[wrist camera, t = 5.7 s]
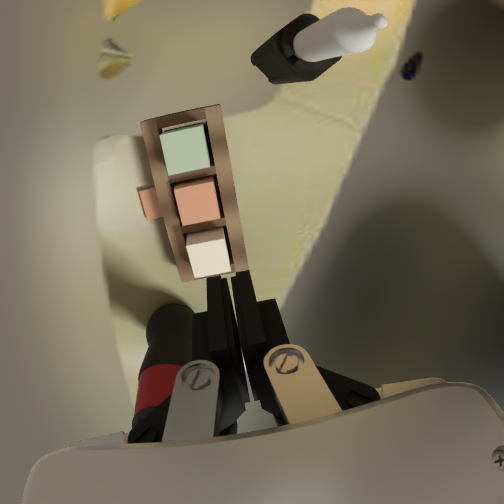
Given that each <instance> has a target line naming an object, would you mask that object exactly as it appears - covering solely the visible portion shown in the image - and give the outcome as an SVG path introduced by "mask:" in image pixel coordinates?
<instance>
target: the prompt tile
mask: <svg viewBox="0 0 504 504" xmlns="http://www.w3.org/2000/svg"><path fill="white" fill-rule="evenodd" d="M139 193H140V197H141V200H142V204H143V207H144V211H145V214H146V218H147V220H152V219H156V218H161V217H163V215H162V212H161V208H160V204H159V200H158V196H157V192H156V188H155V187H152V188H148V189H144V190H140V191H139Z"/></svg>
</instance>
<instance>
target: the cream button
mask: <svg viewBox="0 0 504 504" xmlns="http://www.w3.org/2000/svg"><path fill="white" fill-rule="evenodd" d="M186 248H187V252H188V255H189V259H190V263H191V266H192V270H193V274H194V277H195V278H199V277H205V276H210V275H215V274H221V273H226V272H231V268H230V261H229V254H228V250H227V245H226V240H225V235H224V230H223V226H220V227H215V228H209V229H204V230H199V231H194V232H189V233H187V241H186Z"/></svg>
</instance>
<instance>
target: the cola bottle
mask: <svg viewBox="0 0 504 504" xmlns="http://www.w3.org/2000/svg"><path fill="white" fill-rule="evenodd" d="M193 314H194V312H193V311H192V310H191V309H189V308H187V307H185V306H182V305H178V304H169V305H165V306H162V307H160V308H159V309H157V310H156V311H155V312H154V313H153V315H152V316H151V318H150V319H149V321H148V324H147V328H146V338H147V342H148V345H149V347H148V350H147V352H146V355H145V358H144V360H143V363H142V366H141V368H140V372H139V377H138V381H139V384H138V391H137V398H136V406H135V414H134V418H133V421H132V428H133V427H134V426H135V425H136V424H138V423H139V422H140V421H141V420H142V419H143V418H145V417H146V416H147V415H148V414H149V413H150V412H151V411H153V410H154V409H155V408H156V407H157V406H158V405H159V404H161V403H162V402H163V401H164V400H165V399H166V398H167V397H168V396H170V395H171V394H172V392H173V388H174V383H175V379H176V376H177V373H178V371H179V370H180V369H181V368H182V367H183V366H184V365H186V364H187V363H190V362H192V317H193Z"/></svg>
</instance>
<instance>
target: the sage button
mask: <svg viewBox="0 0 504 504" xmlns="http://www.w3.org/2000/svg"><path fill="white" fill-rule="evenodd" d="M160 140H161V145H162V149H163V154H164V158H165V163H166V167H167V172H168V176H170V175H174V174H179V173H183V172H188V171H193V170H198V169H203V168H208V167H210V158H209V153H208V148H207V142H206V137H205V131H204V126H203V123H198V124H193V125H189V126H184V127H179V128H175V129H170V130H166V131H164V132H163V133H161V134H160Z"/></svg>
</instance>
